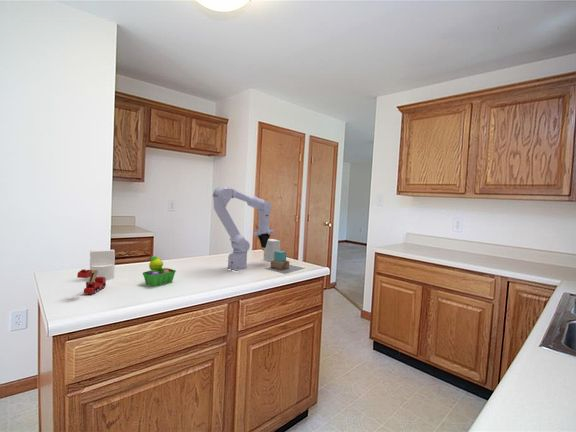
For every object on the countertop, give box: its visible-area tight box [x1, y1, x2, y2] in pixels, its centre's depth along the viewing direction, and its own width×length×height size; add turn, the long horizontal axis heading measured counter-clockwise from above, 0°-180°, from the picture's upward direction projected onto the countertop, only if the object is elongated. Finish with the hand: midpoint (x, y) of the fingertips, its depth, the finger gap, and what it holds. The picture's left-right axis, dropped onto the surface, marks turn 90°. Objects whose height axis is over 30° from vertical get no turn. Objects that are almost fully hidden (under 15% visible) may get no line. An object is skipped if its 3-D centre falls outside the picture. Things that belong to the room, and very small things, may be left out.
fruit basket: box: [142, 255, 177, 288], centre depth 128 cm, size 11×9×11 cm
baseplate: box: [264, 264, 306, 275], centre depth 162 cm, size 18×14×1 cm
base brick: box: [270, 259, 290, 271], centre depth 162 cm, size 7×7×4 cm
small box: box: [263, 238, 281, 263], centre depth 181 cm, size 8×6×13 cm
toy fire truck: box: [76, 269, 107, 295], centre depth 113 cm, size 3×14×10 cm, turn 5°
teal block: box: [274, 250, 287, 262], centre depth 162 cm, size 4×4×5 cm
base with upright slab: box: [89, 249, 116, 281], centre depth 131 cm, size 9×9×12 cm
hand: (263, 247), depth 168 cm, fingers closed
